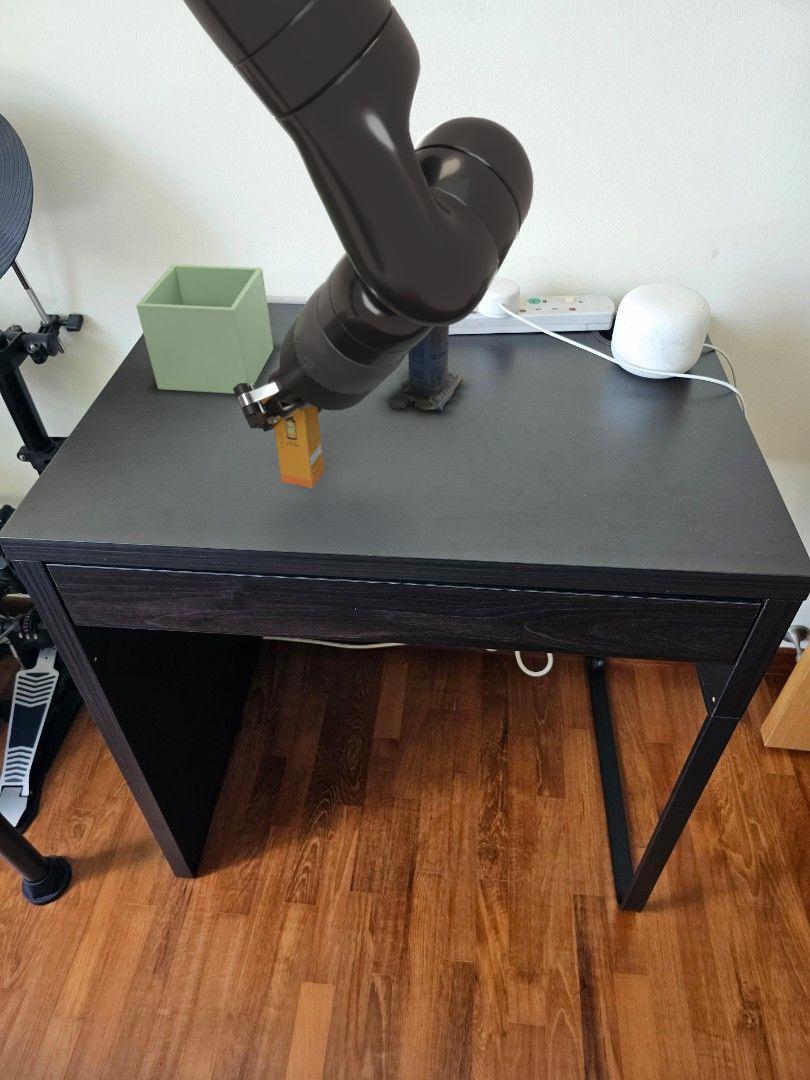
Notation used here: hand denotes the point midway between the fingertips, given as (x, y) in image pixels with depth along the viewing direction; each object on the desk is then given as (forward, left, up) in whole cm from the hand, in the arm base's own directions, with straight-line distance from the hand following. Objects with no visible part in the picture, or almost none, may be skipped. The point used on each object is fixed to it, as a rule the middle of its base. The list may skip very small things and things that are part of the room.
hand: (286, 412), depth 71 cm
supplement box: (0, -2, -6) cm, 7 cm away
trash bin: (-2, +29, -10) cm, 30 cm away
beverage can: (+19, +13, -10) cm, 25 cm away
